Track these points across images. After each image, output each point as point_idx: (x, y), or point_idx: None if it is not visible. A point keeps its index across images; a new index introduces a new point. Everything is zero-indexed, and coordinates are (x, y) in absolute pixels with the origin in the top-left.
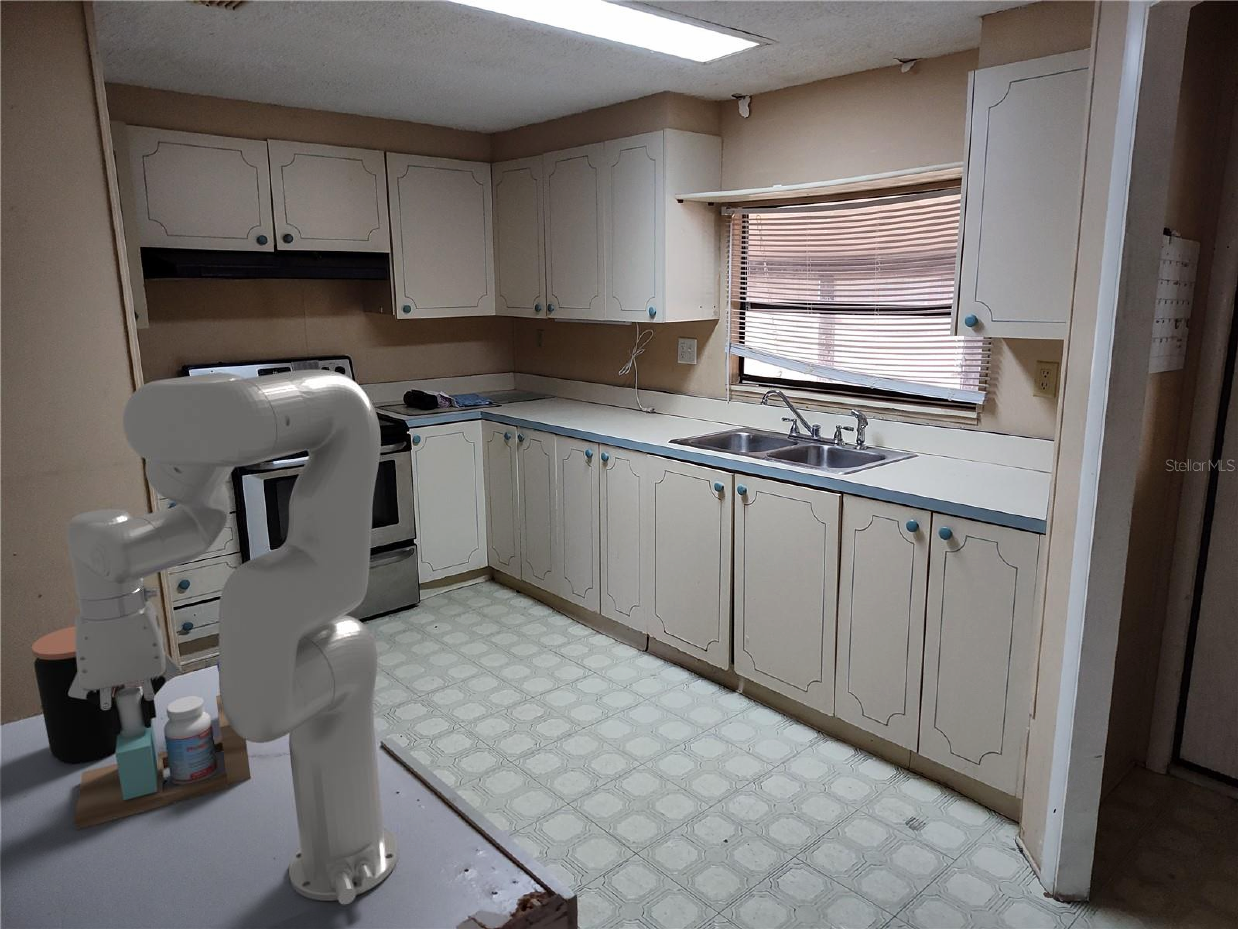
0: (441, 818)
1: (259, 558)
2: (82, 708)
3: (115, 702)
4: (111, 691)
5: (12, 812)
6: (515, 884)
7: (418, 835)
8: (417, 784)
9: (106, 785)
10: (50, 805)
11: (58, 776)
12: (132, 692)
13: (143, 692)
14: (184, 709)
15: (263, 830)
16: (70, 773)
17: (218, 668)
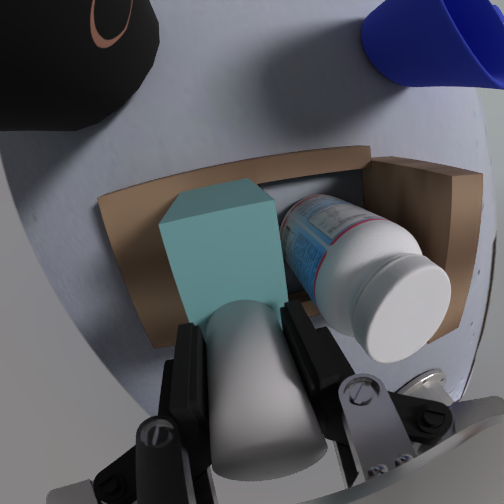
0: (469, 354)
1: None
2: (17, 117)
3: (199, 422)
4: (187, 469)
5: (40, 261)
6: (456, 397)
7: (453, 370)
8: (482, 314)
9: (164, 266)
10: (81, 259)
11: (56, 162)
12: (294, 463)
13: (339, 462)
14: (405, 349)
15: (380, 368)
16: (72, 155)
17: (443, 15)
